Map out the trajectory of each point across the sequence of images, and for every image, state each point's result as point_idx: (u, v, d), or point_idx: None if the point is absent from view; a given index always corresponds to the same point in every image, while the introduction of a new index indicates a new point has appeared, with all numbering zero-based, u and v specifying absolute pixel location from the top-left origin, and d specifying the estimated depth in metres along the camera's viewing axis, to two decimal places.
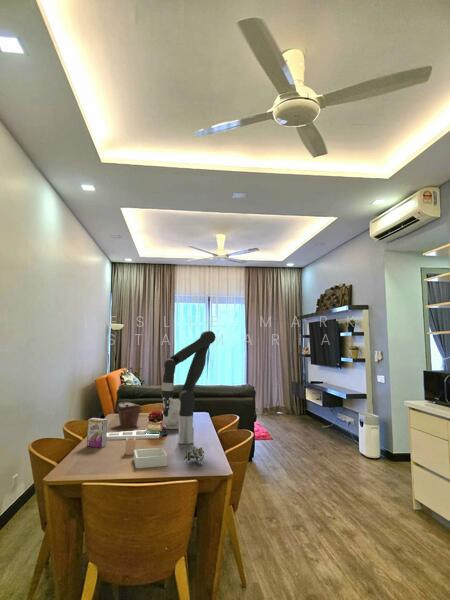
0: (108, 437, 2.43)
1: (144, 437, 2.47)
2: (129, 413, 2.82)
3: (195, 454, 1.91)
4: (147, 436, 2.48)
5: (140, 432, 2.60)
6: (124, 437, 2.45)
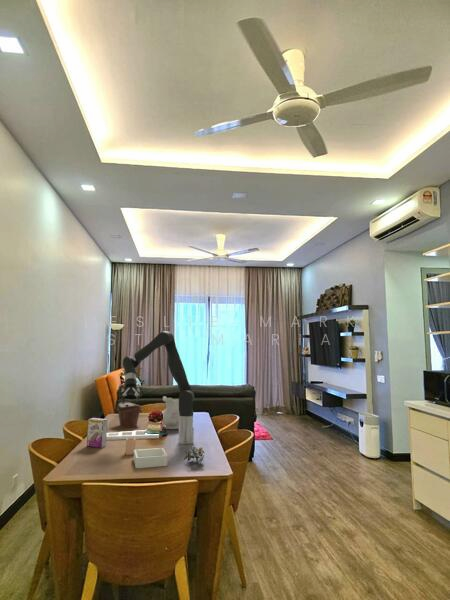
0: (108, 437, 2.43)
1: (144, 437, 2.47)
2: (129, 413, 2.82)
3: (195, 454, 1.91)
4: (147, 436, 2.48)
5: (140, 432, 2.60)
6: (124, 437, 2.45)
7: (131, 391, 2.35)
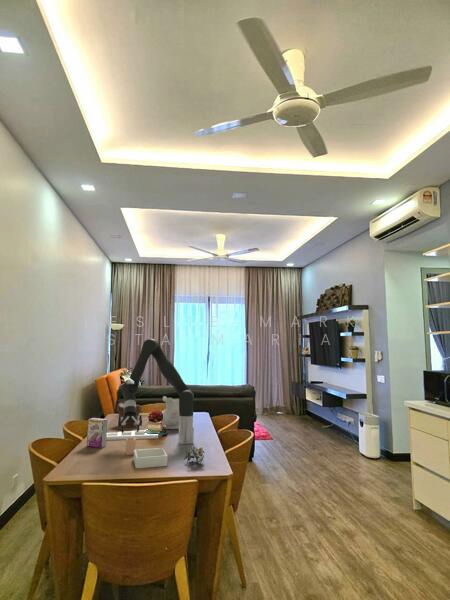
0: (107, 437, 2.42)
1: (143, 437, 2.47)
2: None
3: (195, 454, 1.91)
4: (146, 436, 2.47)
5: (139, 432, 2.60)
6: (123, 437, 2.44)
7: (130, 420, 2.25)
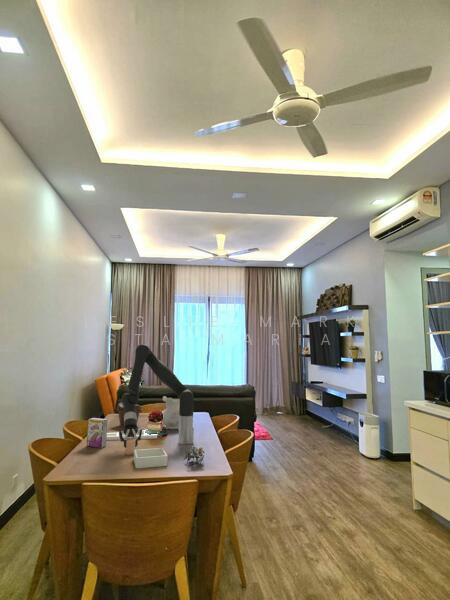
0: (106, 437, 2.42)
1: (142, 437, 2.47)
2: None
3: (195, 454, 1.91)
4: (145, 436, 2.47)
5: None
6: None
7: (131, 433, 2.16)
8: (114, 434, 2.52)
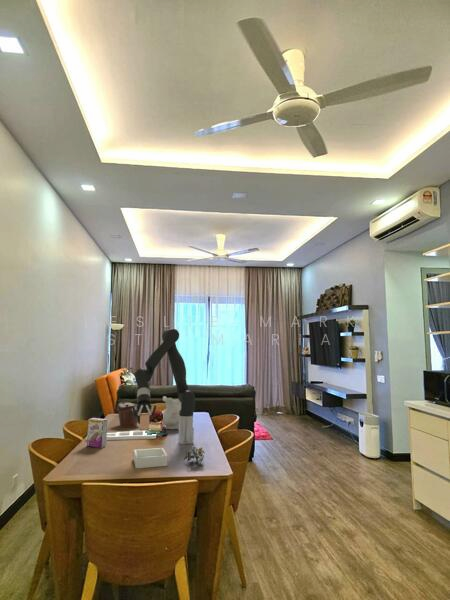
0: None
1: (141, 437, 2.46)
2: (129, 413, 2.82)
3: (195, 454, 1.91)
4: (144, 436, 2.47)
5: (137, 432, 2.59)
6: (121, 437, 2.44)
7: (145, 409, 2.07)
8: (113, 434, 2.51)
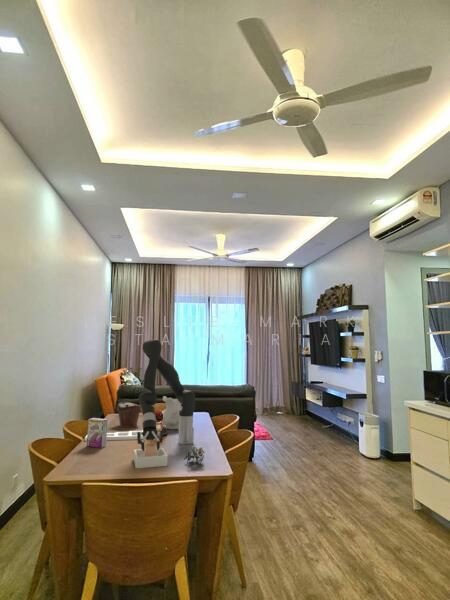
0: None
1: (140, 438, 2.46)
2: (129, 413, 2.82)
3: (195, 454, 1.91)
4: (143, 437, 2.46)
5: (136, 433, 2.58)
6: (119, 438, 2.43)
7: (151, 436, 2.01)
8: (112, 434, 2.51)
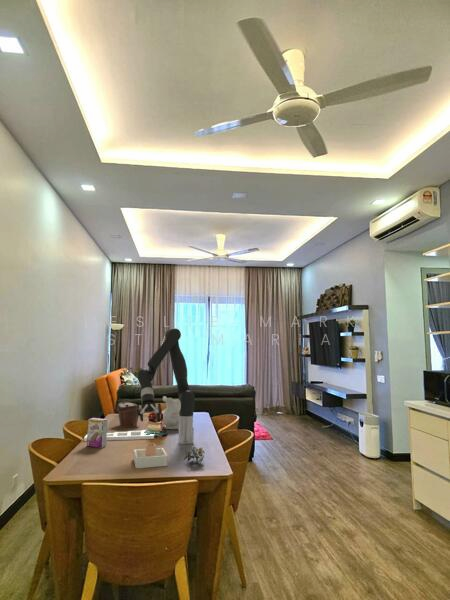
0: None
1: (139, 438, 2.45)
2: (129, 413, 2.82)
3: (195, 454, 1.91)
4: (142, 437, 2.46)
5: (135, 433, 2.58)
6: (118, 438, 2.43)
7: (149, 408, 2.13)
8: (111, 434, 2.51)
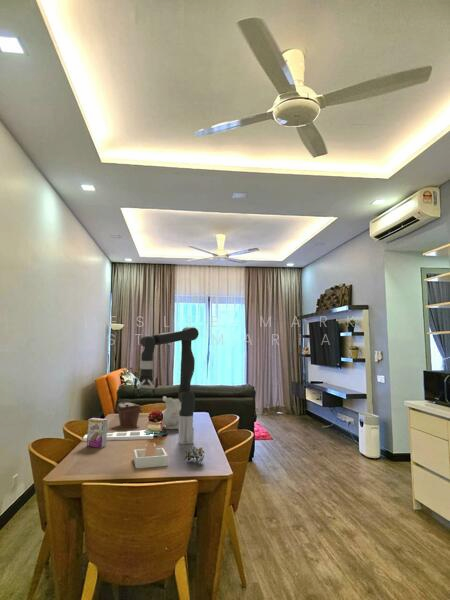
0: None
1: (138, 438, 2.45)
2: (129, 413, 2.82)
3: (195, 454, 1.91)
4: (141, 437, 2.45)
5: (134, 433, 2.57)
6: (118, 438, 2.42)
7: (146, 383, 2.25)
8: (110, 434, 2.50)
